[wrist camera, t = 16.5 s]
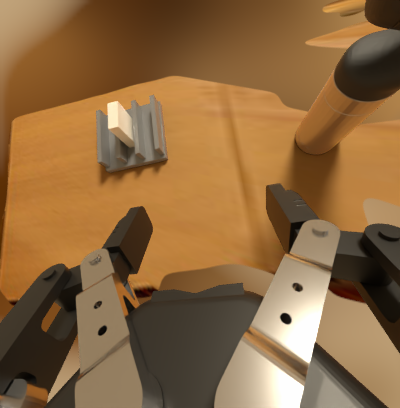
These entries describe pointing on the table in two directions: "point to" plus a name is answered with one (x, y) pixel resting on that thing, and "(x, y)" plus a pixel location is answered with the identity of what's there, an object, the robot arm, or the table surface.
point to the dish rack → (143, 138)
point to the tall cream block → (120, 123)
